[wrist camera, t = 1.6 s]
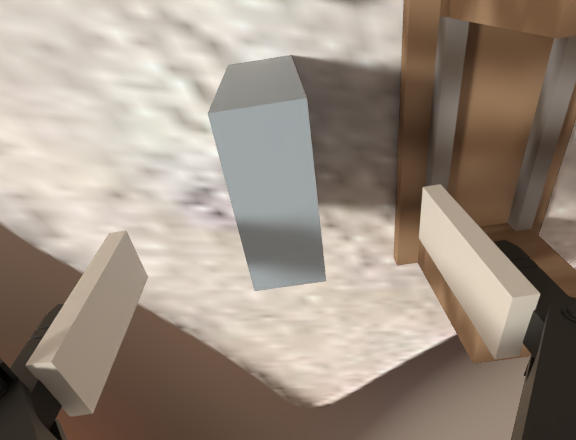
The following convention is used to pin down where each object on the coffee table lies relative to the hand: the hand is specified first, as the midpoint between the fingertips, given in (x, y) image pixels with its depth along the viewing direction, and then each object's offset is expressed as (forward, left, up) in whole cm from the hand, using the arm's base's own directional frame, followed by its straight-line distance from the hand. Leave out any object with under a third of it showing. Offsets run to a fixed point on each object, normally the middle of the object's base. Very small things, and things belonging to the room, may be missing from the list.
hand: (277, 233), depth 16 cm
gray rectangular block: (0, 0, -11) cm, 11 cm away
